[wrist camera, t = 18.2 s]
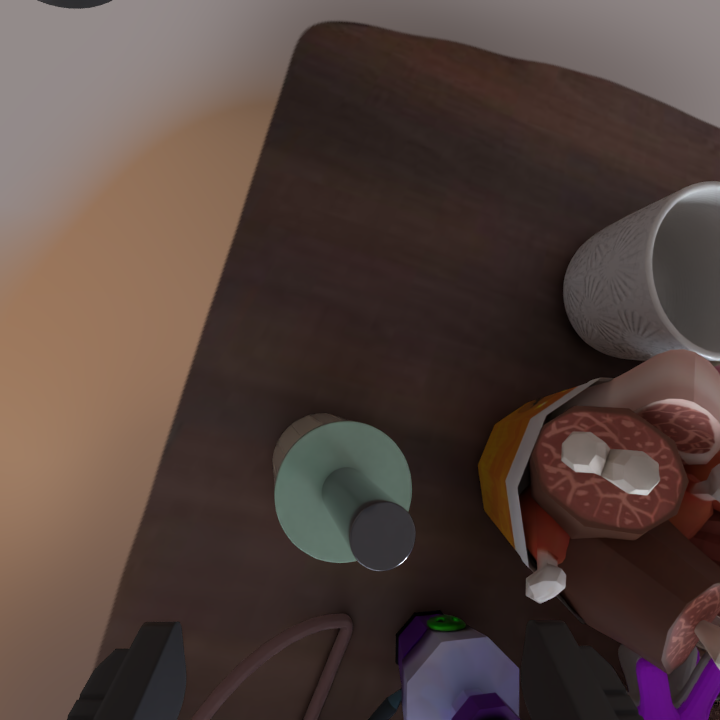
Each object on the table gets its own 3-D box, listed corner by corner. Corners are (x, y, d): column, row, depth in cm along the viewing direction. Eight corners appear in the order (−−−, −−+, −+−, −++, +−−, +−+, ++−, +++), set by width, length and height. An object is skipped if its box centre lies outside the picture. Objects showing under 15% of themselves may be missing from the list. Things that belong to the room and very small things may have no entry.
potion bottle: (454, 571, 39) (542, 653, 27) (491, 667, 39) (593, 788, 28) (358, 621, 37) (408, 733, 25) (398, 722, 37) (464, 878, 26)
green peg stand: (244, 501, 27) (240, 561, 18) (333, 392, 28) (370, 397, 19) (350, 582, 28) (396, 677, 19) (431, 474, 30) (508, 514, 21)
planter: (649, 381, 44) (777, 381, 33) (532, 343, 41) (630, 330, 31) (675, 254, 45) (806, 215, 34) (563, 210, 42) (667, 153, 32)
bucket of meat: (402, 520, 38) (559, 666, 19) (481, 335, 40) (696, 294, 21) (600, 606, 42) (903, 802, 22) (663, 432, 44) (989, 474, 24)
